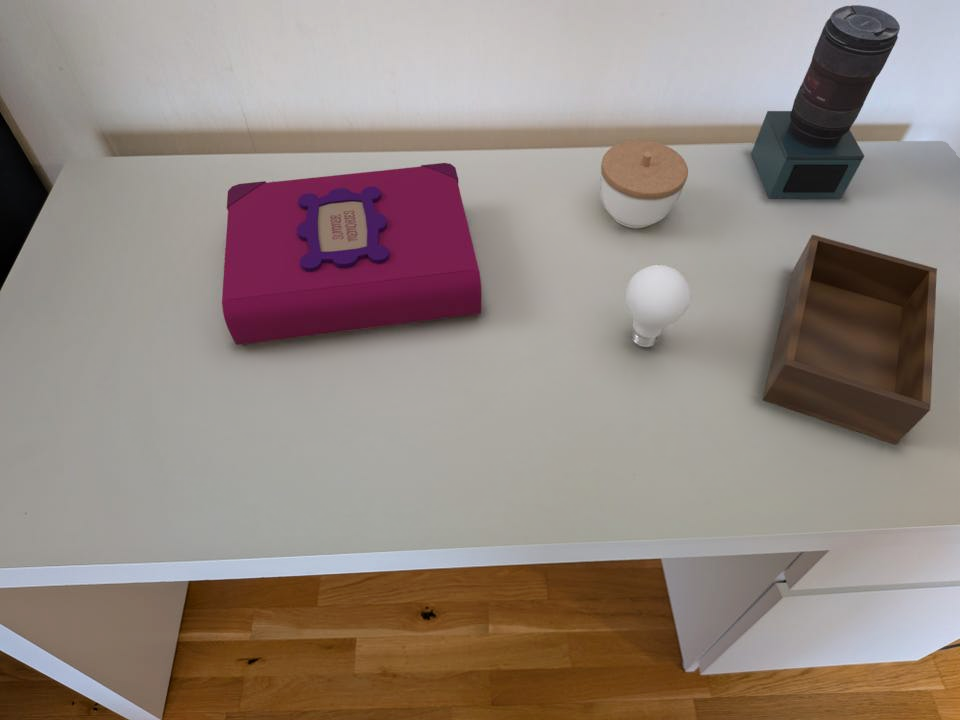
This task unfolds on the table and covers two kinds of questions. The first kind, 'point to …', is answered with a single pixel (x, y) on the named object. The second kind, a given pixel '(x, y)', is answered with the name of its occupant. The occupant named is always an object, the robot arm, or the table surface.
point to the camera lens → (842, 73)
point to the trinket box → (641, 182)
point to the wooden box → (856, 340)
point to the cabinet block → (802, 162)
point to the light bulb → (655, 302)
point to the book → (347, 253)
